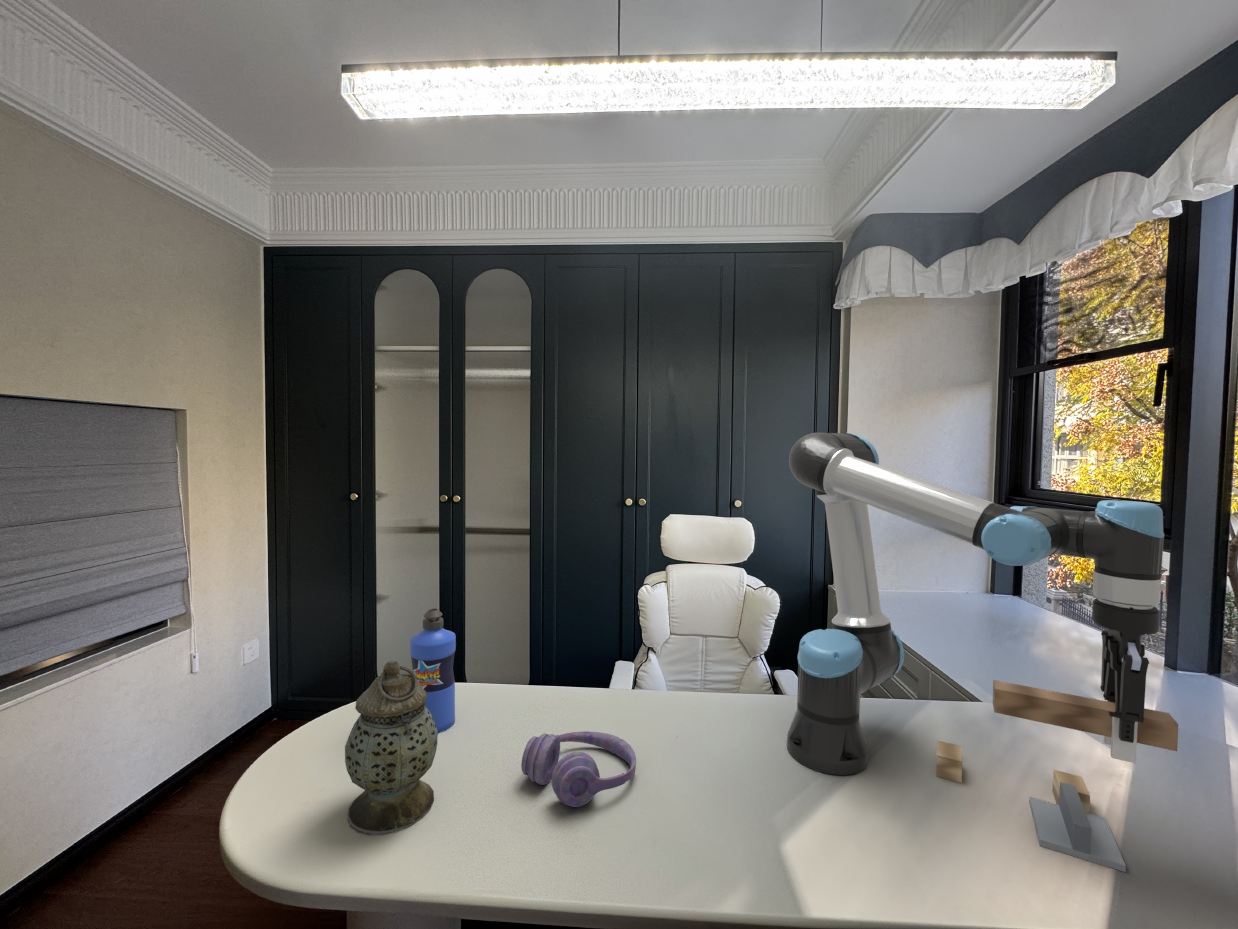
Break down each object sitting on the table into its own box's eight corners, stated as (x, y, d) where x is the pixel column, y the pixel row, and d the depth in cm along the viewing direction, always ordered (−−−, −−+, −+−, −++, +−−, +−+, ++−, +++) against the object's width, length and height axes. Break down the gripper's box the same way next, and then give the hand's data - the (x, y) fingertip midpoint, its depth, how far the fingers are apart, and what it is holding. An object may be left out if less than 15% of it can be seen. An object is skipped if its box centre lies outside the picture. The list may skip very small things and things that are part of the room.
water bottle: (447, 735, 114) (447, 617, 113) (403, 734, 114) (402, 616, 113) (461, 713, 123) (461, 603, 122) (419, 712, 123) (419, 602, 122)
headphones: (573, 826, 87) (652, 789, 101) (580, 773, 87) (658, 743, 102) (506, 776, 99) (585, 749, 114) (512, 730, 100) (590, 709, 114)
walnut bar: (994, 712, 91) (995, 688, 91) (992, 702, 94) (993, 680, 94) (1177, 751, 80) (1178, 724, 79) (1167, 738, 83) (1168, 713, 83)
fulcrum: (1039, 845, 85) (1041, 814, 84) (1029, 802, 95) (1030, 774, 95) (1125, 872, 80) (1127, 839, 79) (1104, 823, 90) (1106, 794, 90)
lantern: (441, 777, 100) (441, 642, 99) (431, 831, 86) (431, 675, 85) (358, 786, 97) (357, 647, 96) (334, 844, 83) (333, 683, 82)
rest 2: (1058, 810, 93) (1059, 787, 93) (1052, 791, 98) (1053, 769, 98) (1088, 819, 91) (1090, 795, 91) (1081, 798, 96) (1082, 776, 96)
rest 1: (936, 776, 102) (937, 755, 102) (936, 760, 107) (937, 740, 107) (961, 783, 100) (962, 761, 100) (960, 766, 105) (961, 746, 105)
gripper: (1180, 622, 74) (1172, 789, 75) (1140, 593, 89) (1134, 733, 90) (1108, 612, 78) (1101, 772, 79) (1081, 586, 93) (1075, 721, 94)
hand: (1118, 751), depth 84 cm, fingers closed on walnut bar, 4 cm apart
